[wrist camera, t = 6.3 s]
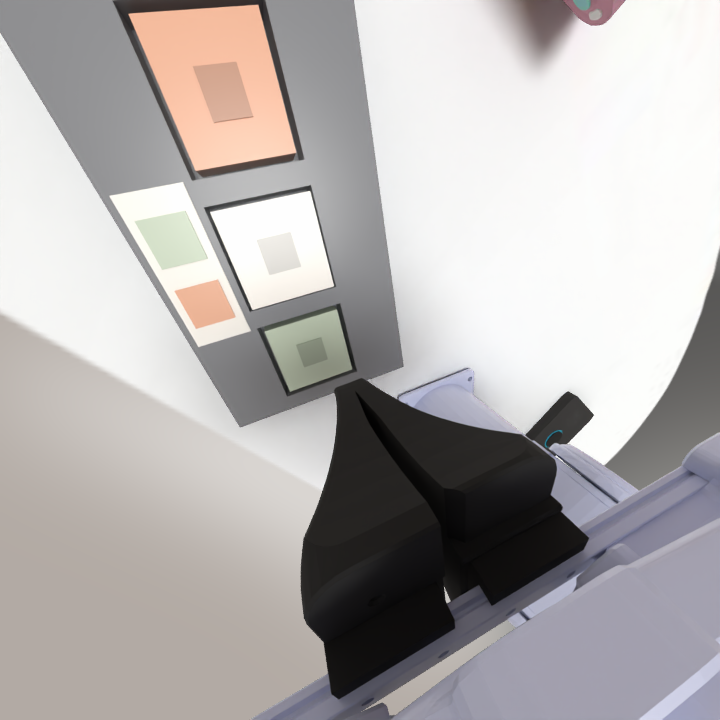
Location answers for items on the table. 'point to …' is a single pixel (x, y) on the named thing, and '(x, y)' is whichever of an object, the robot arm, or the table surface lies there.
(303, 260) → the white key
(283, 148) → the terracotta key
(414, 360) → the table surface
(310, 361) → the sage key
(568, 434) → the smart home device
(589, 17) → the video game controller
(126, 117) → the keypad
